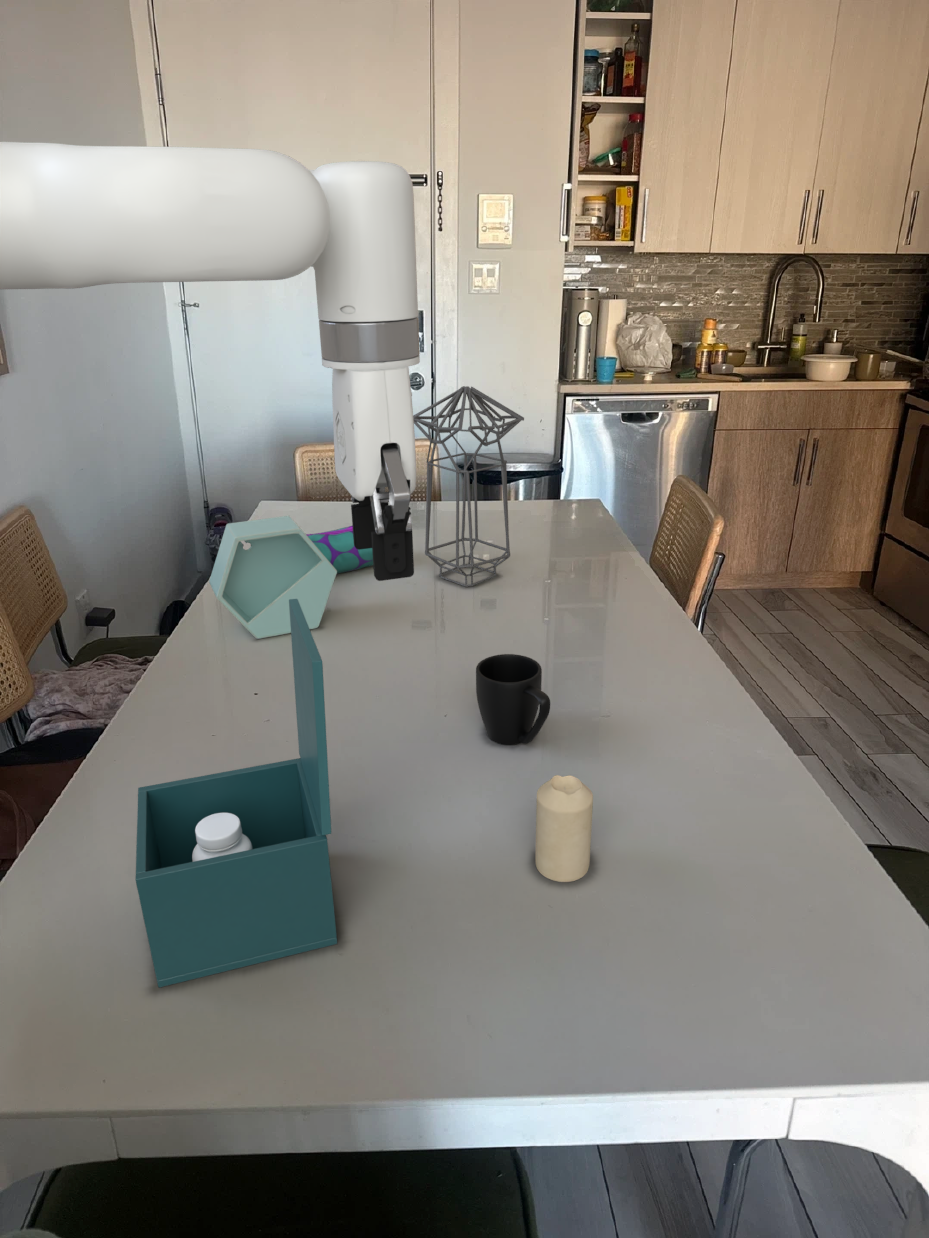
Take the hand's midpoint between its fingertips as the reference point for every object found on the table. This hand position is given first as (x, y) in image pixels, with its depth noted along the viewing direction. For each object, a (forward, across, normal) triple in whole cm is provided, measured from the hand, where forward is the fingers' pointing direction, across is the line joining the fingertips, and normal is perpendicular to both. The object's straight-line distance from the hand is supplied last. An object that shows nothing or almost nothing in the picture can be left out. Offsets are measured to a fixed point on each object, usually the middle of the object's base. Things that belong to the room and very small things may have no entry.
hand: (382, 560), depth 74 cm
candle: (+34, +4, +16) cm, 38 cm away
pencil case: (+34, -89, +9) cm, 96 cm away
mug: (+34, -20, +20) cm, 45 cm away
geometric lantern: (+34, -78, +33) cm, 91 cm away
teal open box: (+34, 0, -16) cm, 37 cm away
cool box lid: (+13, 0, -8) cm, 16 cm away
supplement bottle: (+33, 0, -16) cm, 37 cm away
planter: (+34, -67, -4) cm, 75 cm away
